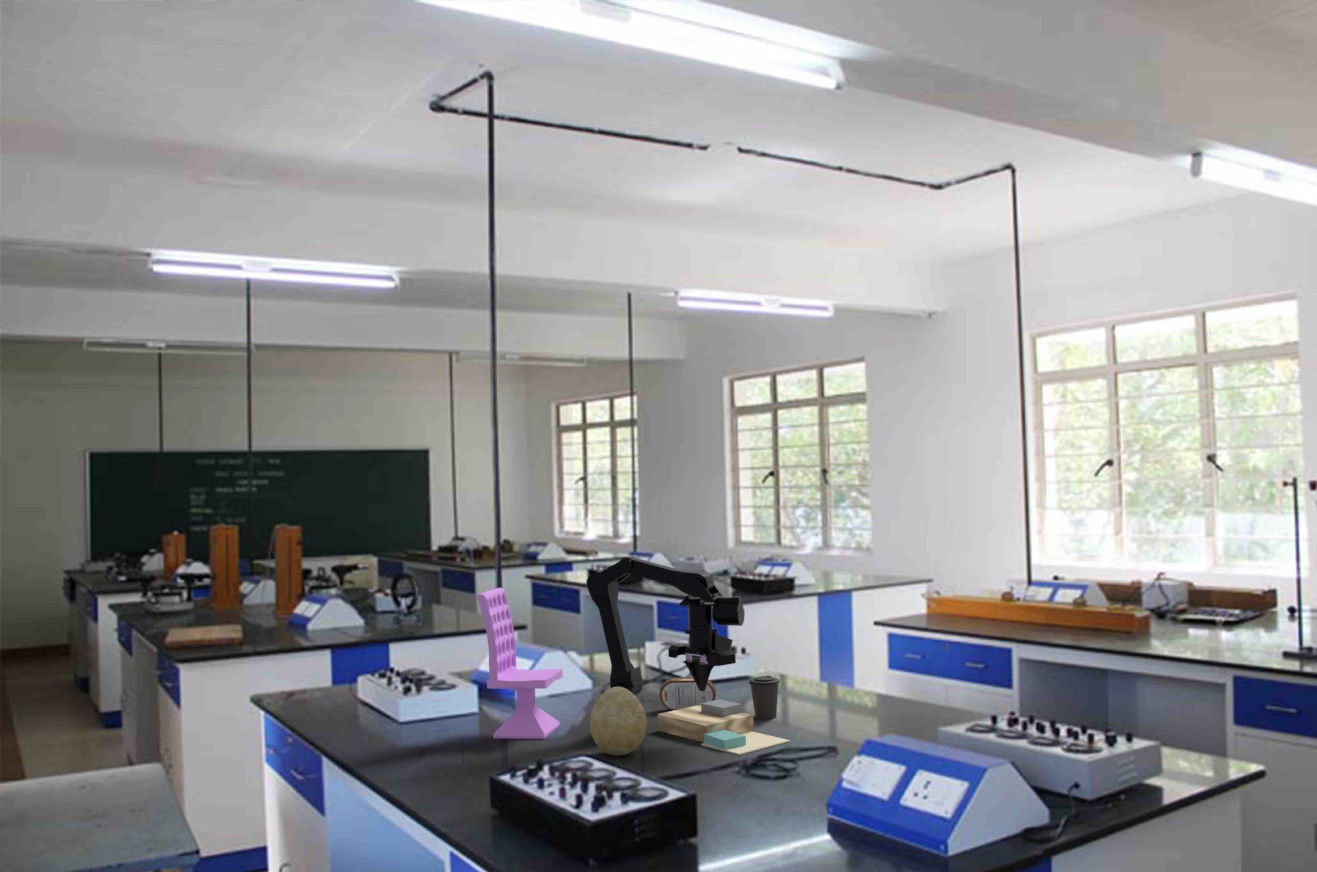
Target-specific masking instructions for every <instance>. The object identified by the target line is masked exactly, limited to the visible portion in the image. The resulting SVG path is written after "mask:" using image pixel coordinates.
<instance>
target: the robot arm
mask: <svg viewBox="0 0 1317 872" xmlns="http://www.w3.org/2000/svg"><path fill="white" fill-rule="evenodd" d="M631 575H632V576H638V577H641V578H644V579H648V580H651V581H654V582H659V583H663V584H666V585H669V586H672V587H673V588H675V589H677V590H679V591H680V592H682V593H684V594H685V596H684V598H683V599H682V600H681V601H680V602H679V606H681V607H687V609H688V610H687V612H688V613H687V614H688V615H687V616H688V628H686V629H685V628H684V634H686V635H688V643H687V642H684V643H683V642H681V643H675V644H671V645H670V646H669V647H668V650H667V651H668V655H667V656H668V658H672V659H673V658H674V659H677V658H678V657H679V656H685V660H682V661H683V664H685V666H686V667H687V669H688V671H689V673H690V674H691V676H692V677H691V678H694V680H695V682H696V685H697V687H698V689H699V690H700V691H705V688H706V685H707V682H708V680H709V678H710V677H711V672H712V670H713V669H714V667H721V666H727V665H733V664H736V663H737V661H736V659H737V658H736V654H735V652H734V651H733V650H732V645H733V641H734V639H731V638H728V637H726V636H723V635H719V634H718V630H717V628H716V627H715V628H714V627H713V621H714V623H716V624H717V626H734V627H740V626H741V627H742V626H743V625H744V623H745V611H746V610H745V608H744V604H743V602H742V597H741V596H740V595H738V596H736V595H735V596H724V595H723V594H722V592H721V591H720V590H719V589H718V587H717V586H716V585H715V581H714V577H713V576H712V574H711V573H710V572H708V571H705V570H697V569H678V568H674V567H670V566H666V565H663V564H659V563H656V562H652V561H649V560H644V559H640V558H637V556H634V555H628V556H625V557H623V558H621V559H620V560H619V561H617V562H616V563H614V564H612V565H610V566H609V567H607V568H605V569H602V570H598V571H595V572H594V571H593V572H592V573H591V574H590V575H588V578H587V579H586V589H587V591H588V593H589V596H590V598H591V600H592V602H593V603H594V605H595V607H596V608H597V609H598V612H599V616H600V621H601V625H602V629H603V634H604V639H605V643H606V647H607V652H608V656H609V659H610V665H611V667H610V668H611V669H610V674H609V675H610V676H609V683H610V684H609V687H610V688H613V687H623V688H626V689H627V690H629V691H630V692H632V693H633V694H634V695H635V696H636V697H637V698H638V696H639V695H640V694H641V691H642V690H643V683H644V680H643V678H642V674H641V667H640V666H636V667H634V665H633V663H632V662H631V660H630V655H629V651H628V647H627V642H626V638H625V634H624V630H623V625H622V621H621V616H620V612H619V608H618V600H619V594H620V593H619V592H620V591H619V583H620V582H622V581H624V580H625V579H626V578H627V577H629V576H631ZM610 688H609V689H610Z"/></svg>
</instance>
